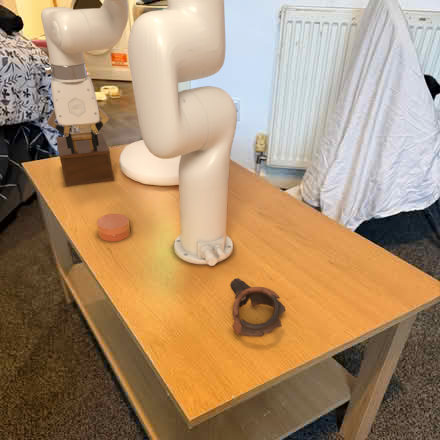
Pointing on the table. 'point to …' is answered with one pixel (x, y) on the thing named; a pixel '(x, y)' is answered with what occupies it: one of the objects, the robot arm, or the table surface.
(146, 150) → the plate
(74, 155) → the lid
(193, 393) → the table surface
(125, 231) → the orange short cylinder
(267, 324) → the pottery mug
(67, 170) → the chest
